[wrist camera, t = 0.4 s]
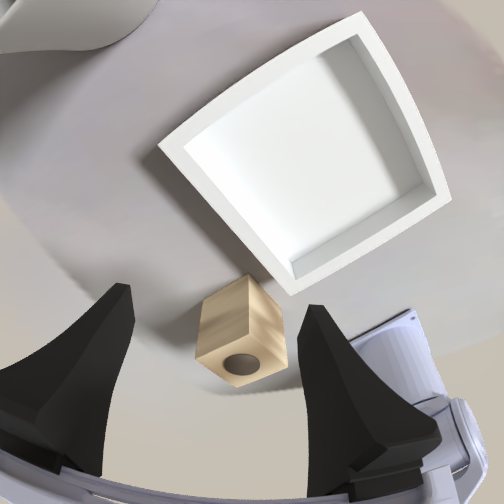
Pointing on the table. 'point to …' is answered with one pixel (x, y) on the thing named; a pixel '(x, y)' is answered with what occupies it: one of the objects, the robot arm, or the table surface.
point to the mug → (68, 23)
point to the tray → (314, 155)
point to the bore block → (241, 333)
